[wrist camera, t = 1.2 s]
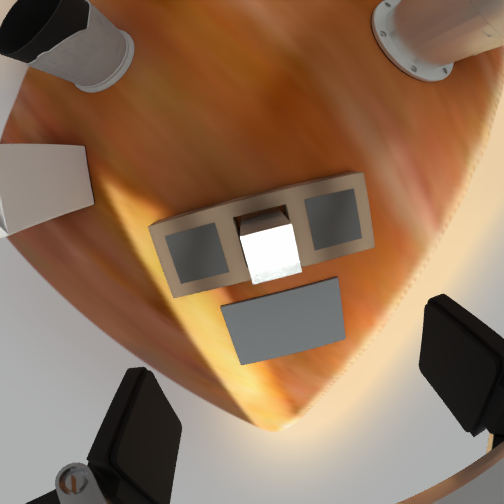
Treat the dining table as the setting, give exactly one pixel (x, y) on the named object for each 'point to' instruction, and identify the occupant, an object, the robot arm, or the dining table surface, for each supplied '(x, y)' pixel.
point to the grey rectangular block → (269, 245)
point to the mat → (286, 321)
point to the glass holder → (67, 42)
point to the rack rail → (291, 197)
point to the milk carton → (41, 184)
